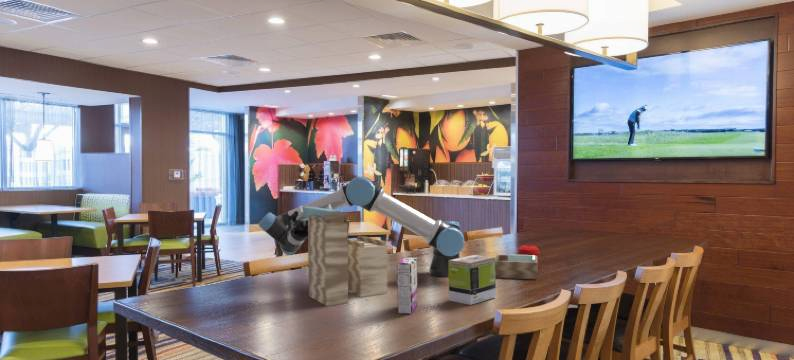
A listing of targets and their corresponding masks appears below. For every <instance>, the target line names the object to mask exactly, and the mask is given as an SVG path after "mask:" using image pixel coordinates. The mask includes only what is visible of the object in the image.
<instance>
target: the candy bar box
mask: <svg viewBox="0 0 794 360" xmlns="http://www.w3.org/2000/svg"><path fill="white" fill-rule="evenodd" d="M417 262H418V261H417V257H402V258H401V259H400V260H399V261H398V262H397V263H396V277H397V278H396V279H397V280H396V282H397V314H403V315H412V314H413V313H414V311H415V310H416V309H417V307H418V267H417V266H418V265H417Z"/></svg>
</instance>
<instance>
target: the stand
mask: <svg viewBox="0 0 794 360" xmlns="http://www.w3.org/2000/svg"><path fill="white" fill-rule="evenodd" d="M348 218H349V217H348V213H340V214H328V215H325V218H322V217H316V216H309V220H308V237H307V240H308V241H307V242H308V243H307V249H308V252H307V253H308V255H307V256H308V260H307V261H308V297H310V298H312V299H313V300H315V301H317V302H319V303H321V304H323V306H325V307H330V306H335V305H336V306H337V305H344V304H348V303H349V292H348V239H349V237H348V235H349V233H348V230H349V229H348V226H349V224H348Z"/></svg>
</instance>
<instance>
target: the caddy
mask: <svg viewBox="0 0 794 360" xmlns="http://www.w3.org/2000/svg"><path fill="white" fill-rule="evenodd" d="M538 262H539V259H537V256H535V262H516V261H508V254H496V256H495V276H496V279H497V278H498V279H521V280H523V279H524V280H525V279H526V280H538V271H539V270H538V265H539V264H538Z"/></svg>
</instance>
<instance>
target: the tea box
mask: <svg viewBox="0 0 794 360" xmlns="http://www.w3.org/2000/svg"><path fill="white" fill-rule="evenodd" d="M495 257H496V256H495ZM495 257H493V256H486V255H475V254H472V255H467V256H462V257H461V256H460V258H457V259H452V260H448V269H449V276H448V296H449V297H448V301H450V302H454V303H459V304H465V305H469V306H472V305H474V304H478V303H483V302H484V301H485V302H486V301H488V300H491V299H495V298H497V287H496V286H497V285H496V284H497V283H496V282H497V281H496V279H497V278H496V276H495Z"/></svg>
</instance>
